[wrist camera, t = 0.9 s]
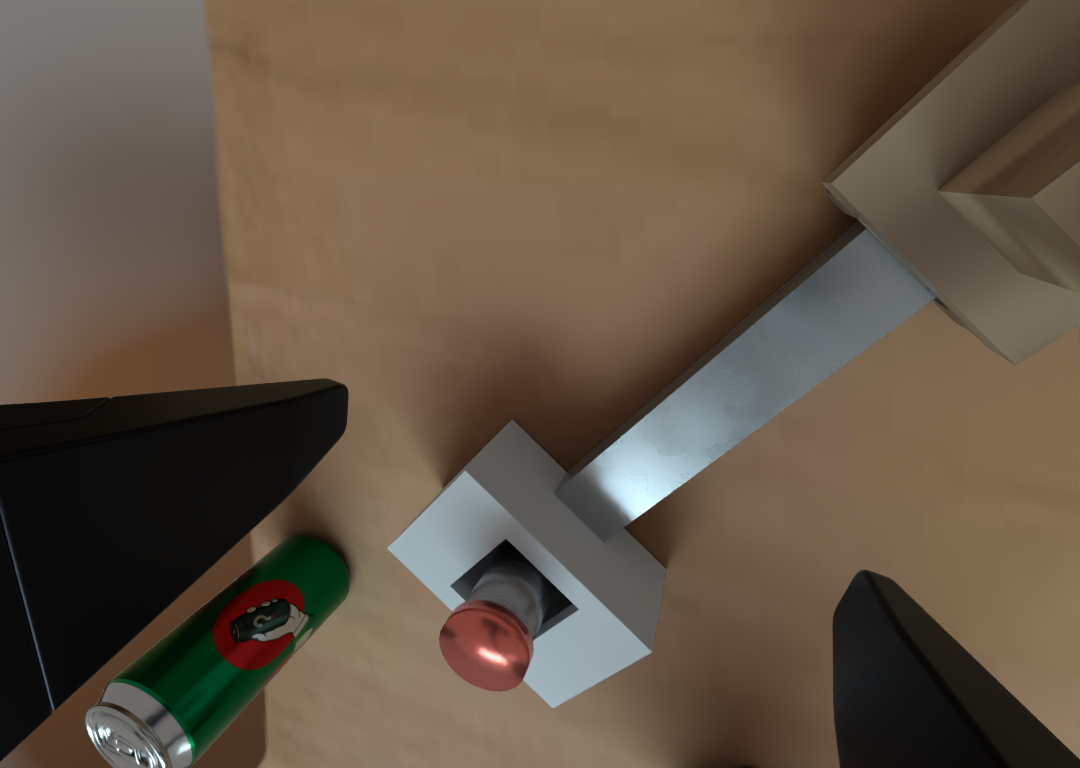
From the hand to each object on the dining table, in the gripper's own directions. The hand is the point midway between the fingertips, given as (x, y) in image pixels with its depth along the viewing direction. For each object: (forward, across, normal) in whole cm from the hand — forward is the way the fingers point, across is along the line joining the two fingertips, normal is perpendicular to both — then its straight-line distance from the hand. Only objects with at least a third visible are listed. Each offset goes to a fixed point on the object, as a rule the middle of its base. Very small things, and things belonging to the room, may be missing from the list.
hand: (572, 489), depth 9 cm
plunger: (+11, +2, +12) cm, 16 cm away
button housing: (+14, +2, +12) cm, 18 cm away
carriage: (+14, -8, -6) cm, 17 cm away
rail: (+14, -5, 0) cm, 15 cm away
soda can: (+14, +15, +21) cm, 29 cm away
